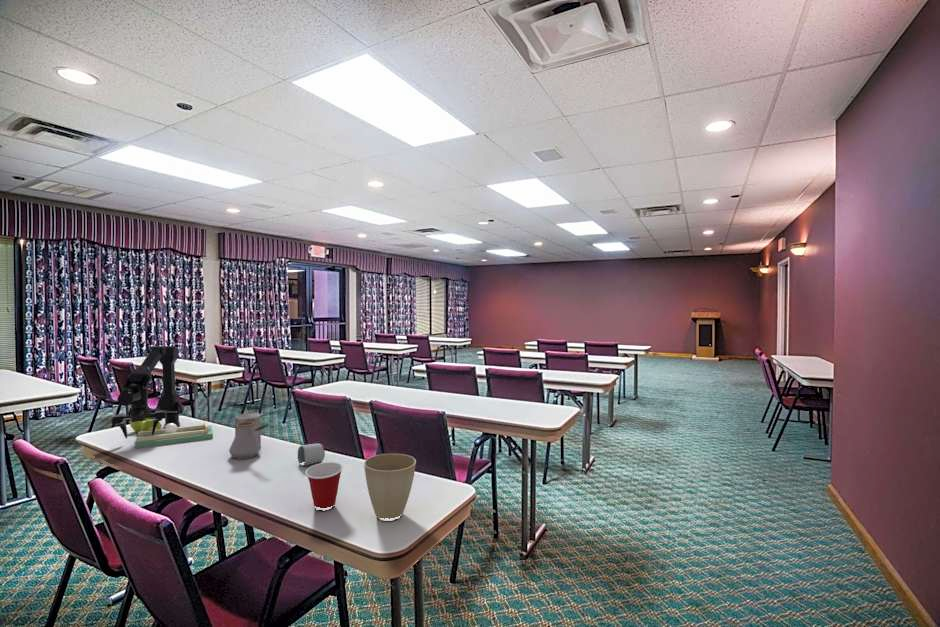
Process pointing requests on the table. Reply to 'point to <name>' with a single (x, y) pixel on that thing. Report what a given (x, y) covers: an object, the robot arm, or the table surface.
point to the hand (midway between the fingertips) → (139, 436)
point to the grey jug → (249, 418)
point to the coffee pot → (245, 441)
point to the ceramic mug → (311, 453)
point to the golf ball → (170, 428)
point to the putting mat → (174, 435)
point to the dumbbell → (144, 425)
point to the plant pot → (389, 483)
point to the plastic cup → (324, 483)
